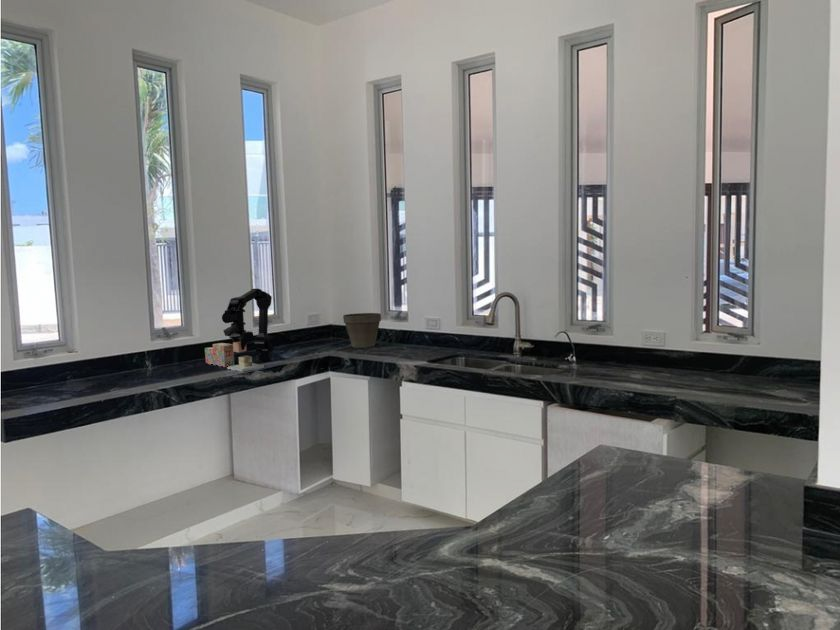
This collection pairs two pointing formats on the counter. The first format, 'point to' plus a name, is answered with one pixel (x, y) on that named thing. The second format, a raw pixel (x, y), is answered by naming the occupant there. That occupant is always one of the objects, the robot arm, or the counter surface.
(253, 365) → the baseplate
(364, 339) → the plant pot
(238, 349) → the brownish pink cube
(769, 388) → the counter surface
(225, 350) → the stack of blocks
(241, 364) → the beech brick
